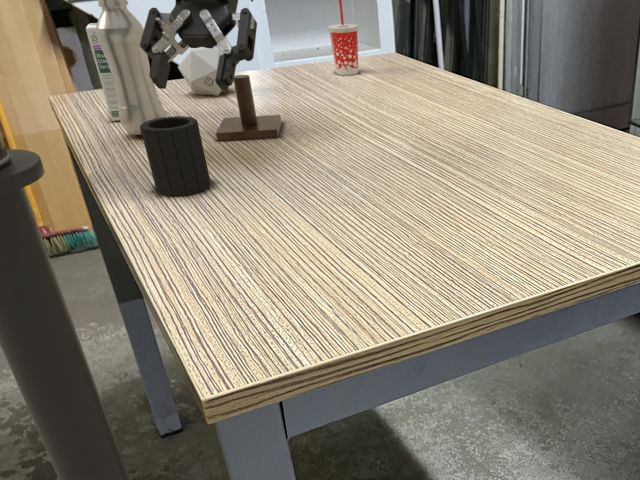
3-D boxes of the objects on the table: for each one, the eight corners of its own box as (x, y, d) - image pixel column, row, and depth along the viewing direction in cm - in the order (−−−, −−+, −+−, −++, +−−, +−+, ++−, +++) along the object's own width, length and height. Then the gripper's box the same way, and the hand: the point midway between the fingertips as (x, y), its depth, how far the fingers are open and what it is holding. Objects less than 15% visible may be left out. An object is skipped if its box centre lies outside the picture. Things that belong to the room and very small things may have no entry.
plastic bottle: (177, 132, 111) (144, -10, 100) (136, 142, 107) (96, -5, 96) (157, 125, 114) (123, -13, 104) (116, 134, 110) (76, -8, 99)
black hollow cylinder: (152, 197, 86) (134, 131, 82) (162, 180, 92) (146, 117, 87) (206, 194, 87) (192, 128, 83) (213, 177, 92) (200, 114, 88)
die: (195, 105, 129) (221, 56, 125) (161, 75, 130) (186, 27, 127) (225, 111, 137) (249, 66, 133) (192, 83, 138) (216, 38, 134)
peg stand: (217, 141, 107) (206, 84, 102) (224, 125, 114) (214, 71, 110) (278, 137, 108) (269, 81, 103) (281, 122, 115) (273, 69, 111)
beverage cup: (366, 73, 147) (360, -2, 139) (339, 77, 144) (331, 1, 137) (355, 68, 151) (348, -4, 144) (328, 71, 149) (320, -2, 141)
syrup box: (110, 122, 117) (83, 26, 109) (116, 113, 122) (91, 21, 114) (147, 119, 118) (123, 24, 110) (151, 111, 123) (129, 19, 115)
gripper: (145, -47, 90) (120, 67, 86) (251, -48, 88) (229, 68, 84) (175, -5, 97) (153, 101, 94) (274, -5, 95) (255, 103, 92)
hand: (189, 86), depth 89 cm, fingers open, 8 cm apart
